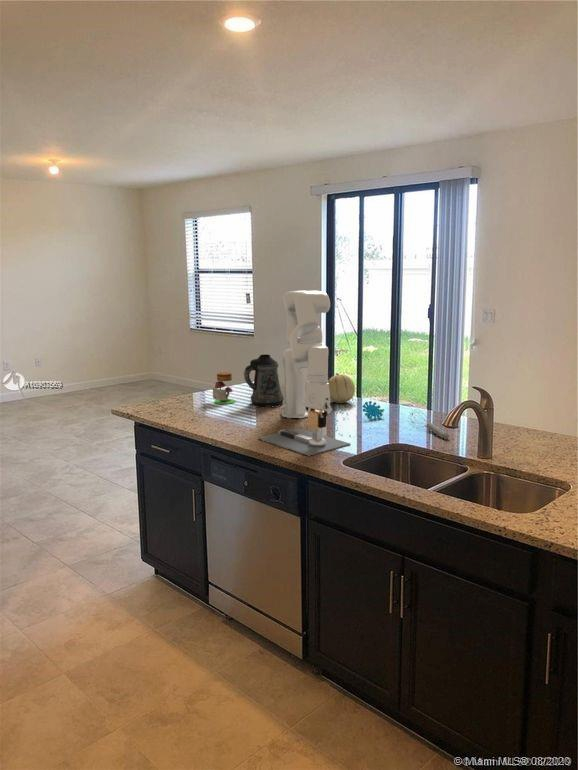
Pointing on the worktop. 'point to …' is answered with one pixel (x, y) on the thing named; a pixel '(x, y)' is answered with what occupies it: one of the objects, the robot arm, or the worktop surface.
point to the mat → (302, 446)
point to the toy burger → (220, 393)
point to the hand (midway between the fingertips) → (317, 425)
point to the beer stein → (264, 382)
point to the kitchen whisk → (433, 427)
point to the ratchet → (313, 442)
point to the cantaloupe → (341, 388)
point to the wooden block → (314, 419)
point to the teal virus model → (372, 410)
